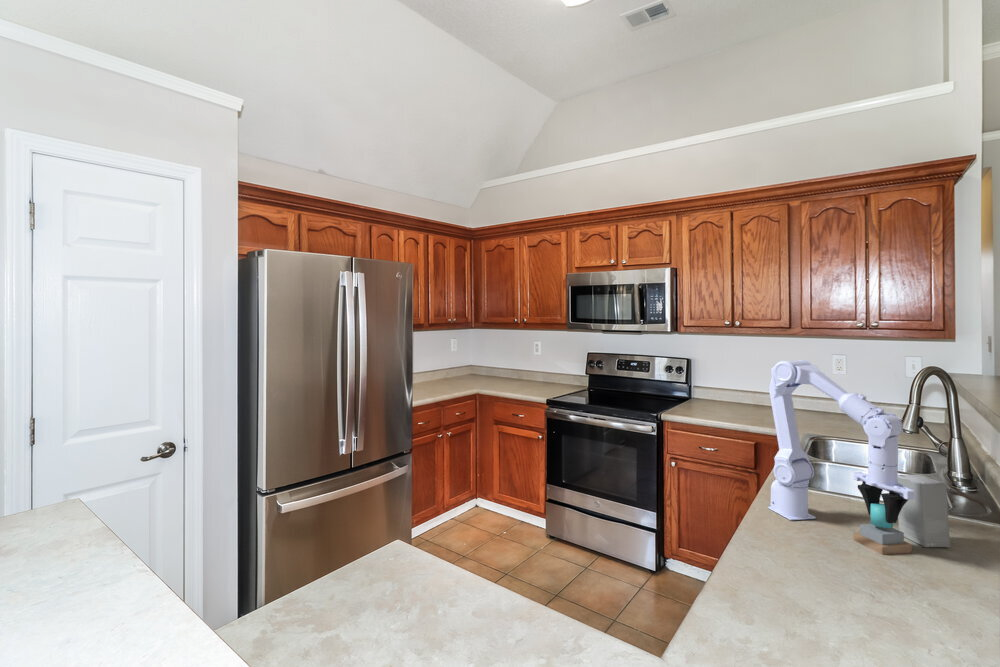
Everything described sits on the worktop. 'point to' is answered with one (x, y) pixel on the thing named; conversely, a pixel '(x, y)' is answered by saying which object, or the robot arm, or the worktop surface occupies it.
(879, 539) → the slate top slab
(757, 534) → the worktop surface
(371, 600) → the worktop surface
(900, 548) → the walnut base slab
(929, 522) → the skincare box
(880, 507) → the teal cylinder
